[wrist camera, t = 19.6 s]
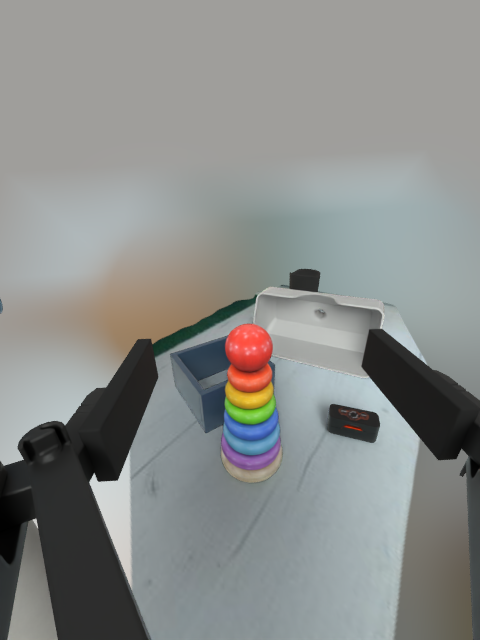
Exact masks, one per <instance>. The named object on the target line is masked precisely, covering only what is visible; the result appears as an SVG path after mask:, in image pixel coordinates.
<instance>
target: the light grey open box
mask: <svg viewBox="0 0 480 640" xmlns="http://www.w3.org/2000/svg"><path fill="white" fill-rule="evenodd" d="M319 309H321V310H323V311H324V313H322V312H320V311H319ZM383 321H384V304H383V302H381V301H380V300H376V299H367V298H359V297H351V296H342V295H334V294H326V293H317V292H309V291H301V290H292V289H284V288H276V287H268V288H267V289H265V290H264V291H263V292H261V293H260V294H259V295H258V296H257V298H256V305H255V312H254V319H253V324H255V325H258V326H260V327H262V328H263V329H265V330H266V331H267V332H268V334H269V335H270V337H271V340H272V343H273V351H272V355H271V356H274V357H278V358H282V359H286V360H290V361H294V362H298V363H303V364H307V365H311V366H315V367H319V368H323V369H327V370H331V371H335V372H339V373H343V374H347V375H352V376H356V377H360V378H369V376H368V375H367V373H366V372H365V371H364V370H363V368H362V367H361V365H362V361H363V356H364V351H365V346H366V342H367V337H368V332H369V329H382V326H383Z"/></svg>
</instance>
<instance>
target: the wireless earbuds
mask: <svg viewBox="0 0 480 640" xmlns="http://www.w3.org/2000/svg"><path fill="white" fill-rule="evenodd" d="M379 428H380V422H379V416H378V415H377V414H376V413H374V412H370V411H365V410H360V409H355V408H350V407H346V406H341V405H336V404H331V405H330V408H329V414H328V422H327V429H328V431H329V432H330V433H333V434H337V435H341V436H345V437H349V438H354V439H358V440H362V441H366V442H370V443H374V442H375V441H376V439H377V435H378V431H379Z"/></svg>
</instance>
